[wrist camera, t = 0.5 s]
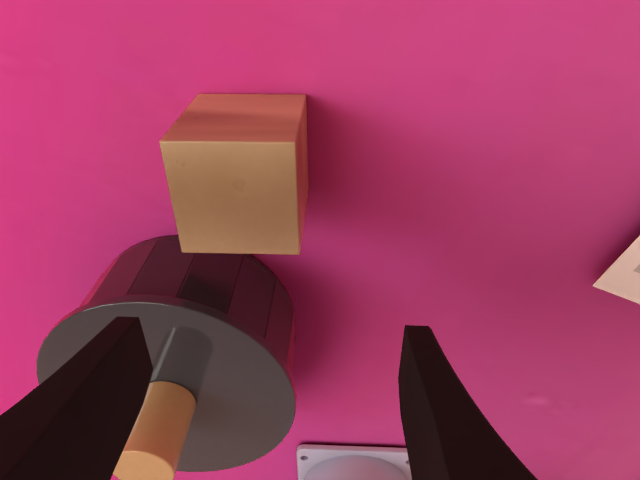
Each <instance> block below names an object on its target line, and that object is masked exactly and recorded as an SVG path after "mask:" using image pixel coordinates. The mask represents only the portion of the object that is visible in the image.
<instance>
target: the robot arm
mask: <svg viewBox="0 0 640 480" xmlns="http://www.w3.org/2000/svg"><path fill="white" fill-rule="evenodd" d="M152 372H153V366H152V362H151V358H150V355H149V351H148V348H147V344H146V340H145V337H144V333H143V330H142V326H141V322H140V319H139V317H123V316H117V317H116V318H115V319H114V320H112V321H111V322H110V323H109V324H108V325H107V326H106V327H105V328H104V329H102V330H101V331H100V332H99V333H98V334H97V335H96V336H95V337H94V338H93V339H91V340H90V341H89V342H88V343H87V344H86V345H85V346H84V347H83V348H82V349H80V350H79V351H78V352H77V353H76V354H75V355H74V356H73V357H72V358H70V359H69V360H68V361H67V362H66V363H65V364H64V365H62V366H61V367H60V368H59V369H58V370H57V371H56V372H55V373H53V374H52V375H51V376H50V377H49V378H47V379H46V380H45V381H44V382H42V383H41V384H40V385H39V386H37V387H36V388H35V389H34V390H33V391H31V392H30V393H29V394H28V395H26V396H25V397H24V398H23V399H22V400H20V401H19V402H18V403H16V404H15V405H14V406H13V407H11V408H10V409H9V410H7V411H6V412H4V413H3V414H2V415H0V480H110V479H111V477H112V474H113V472H114V470H115V467H116V465H117V463H118V461H119V458H120V456H121V454H122V452H123V449H124V447H125V445H126V443H127V440H128V438H129V436H130V434H131V431H132V429H133V427H134V424H135V422H136V420H137V417H138V415H139V413H140V410H141V408H142V406H143V403H144V400H145V396H146V393H147V390H148V387H149V383H150V379H151V376H152ZM398 381H399V398H400V412H401V419H402V425H403V431H404V436H405V442H406V448H393V447H366V446H339V445H311V444H302V445H299V446H298V447H297V468H298V480H537V479H536V478H535V476H534V475H533V474H532V473H531V472H530V471H529V470H528V469H527V468H526V467H525V465H524V464H523V463H522V462H521V461H520V460H519V459H518V458H517V456H516V455H515V454H514V453H513V452H512V451H511V449H510V448H509V447H508V446H507V445H506V443H505V442H504V441H503V440H502V439H501V437H500V436H499V435H498V434H497V432H496V431H495V430H494V428H493V427H492V426H491V425H490V423H489V422H488V421H487V419H486V418H485V416H484V415H483V414H482V412H481V411H480V410H479V408H478V407H477V405H476V404H475V402H474V401H473V400H472V398H471V397H470V395H469V394H468V392H467V391H466V389H465V387H464V386H463V384H462V383H461V381H460V380H459V378H458V377H457V375H456V373H455V372H454V370H453V368H452V367H451V365H450V363H449V362H448V360H447V358H446V356H445V355H444V353H443V351H442V349H441V347H440V345H439V343H438V342H437V340H436V338H435V336H434V333H433V331H432V329H431V328H430V327H429V326H410V325H405V329H404V337H403V345H402V353H401V361H400V368H399V376H398Z"/></svg>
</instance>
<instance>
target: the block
mask: <svg viewBox="0 0 640 480" xmlns="http://www.w3.org/2000/svg"><path fill="white" fill-rule="evenodd" d="M159 143H160V148H161V153H162V157H163V162H164V167H165V172H166V177H167V182H168V187H169V192H170V197H171V202H172V206H173V211H174V216H175V221H176V226H177V231H178V236H179V241H180V246H181V251H182V252H183V253H232V254H283V255H299V254H300V250H301V242H302V235H303V228H304V221H305V214H306V206H307V199H308V192H309V182H308V142H307V101H306V95H305V94H198V95H197V96H196V97H195V99H194V100H193V101H192V102H191V103H190V105H189V106H188V107H187V108H186V109H185V111H184V112H183V113H182V114H181V116H180V117H179V118H178V119H177V120H176V122H175V123H174V124H173V125H172V126H171V128H170V129H169V130H168V131H167V132H166V134H165V135H164V136H163V137H162V139H161V140H160V141H159Z"/></svg>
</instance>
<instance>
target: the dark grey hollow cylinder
mask: <svg viewBox="0 0 640 480" xmlns="http://www.w3.org/2000/svg"><path fill="white" fill-rule="evenodd" d="M141 294H146V295H160V296H168V297H174V298H179V299H184V300H188V301H192V302H196V303H199V304H203V305H205V306H208V307H211V308H213V309H216V310H219V311H221V312H223V313H225V314H227V315H229V316H231V317H233V318H235V319H237V320H239V321H240V322H242V323H243V324H245V325H247V326H248V327H250V328H251V329H253V330H254V331H255V332H257V333H258V334H259V335H260V336H262V337H263V338H264V339H265V340H266V341H267V342H268V343H269V344H270V345H271V346H272V347H273V348H274V349H275V350H276V351H277V352H278V354H279V355H280V356H281V358H282V359H283V360H284V362H285V364H286V365H287V367H288V369H289V371H290V373H291V369H292V361H293V353H294V345H295V314H294V308H293V305H292V302H291V299H290V297H289V295H288V293H287V291H286V289H285V288H284V286H283V285H282V283H281V282H280V280H279V279H278V278H277V277H276V276H275V275H274V274H273V273H272V272H271V271H270V270H269V269H268V268H267V267H266V266H265V265H264V264H262V263H261V262H260V261H258V260H257V259H255V258H254V257H252V256H251V255H249V254H232V253H183V252H182V251H181V246H180V241H179V236H165V237H158V238H154V239H150V240H147V241H143V242H141V243H139V244H136V245H134V246H132V247H130V248H129V249H127V250H126V251H124V252H122V253H121V254H120V255H119V256H118V257H117V258H116V259H115V260H114V261H113V262H112V263H111V265H110V266H109V267H108V268H107V269H106V271H105V272H104V273H103V274H102V275H101V276H100V277H99V279H98V280H97V282H96V283H95V285H94V286H93V288H92V289H91V291H90V292H89V294H88V295H87V297H86V298H85V300H84V301H83V302H82V304H81V305H80V307H81V306H83V305H86V304H88V303H91V302H93V301H97V300H101V299H104V298H108V297H115V296H122V295H141Z"/></svg>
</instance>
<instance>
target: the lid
mask: <svg viewBox="0 0 640 480" xmlns="http://www.w3.org/2000/svg"><path fill="white" fill-rule="evenodd" d="M117 316H123V317H139V319H140V322H141V326H142V330H143V333H144V337H145V340H146V344H147V348H148V351H149V355H150V358H151V362H152V366H153V372H152V376H151V379H150V383H149V387H148V390H147V393H146V396H145V400H144V403H143V406H142V408H141V410H140V413H139V415H138V417H137V420H136V422H135V424H134V427H133V429H132V431H131V434H130V436H129V438H128V440H127V443H126V445H125V447H124V449H123V452H122V454H121V456H120V458H119V461H118V463H117V465H116V467H115V470H114V472H113V475H114V476H116V477H117V478H118V479H120V480H173V479H174V477H175V473H176V471H186V472H206V471H217V470H224V469H230V468H234V467H237V466H241V465H244V464H247V463H250V462H252V461H255V460H257V459H259V458H260V457H262V456H264V455H266V454H267V453H269V452H270V451H272V450H273V449H274V448H275V447H276V446H277V445H278V444H280V443H281V442H282V440H283V439H284V438H285V436H286V435H287V434H288V432H289V430H290V428H291V426H292V424H293V420H294V416H295V411H296V389H295V384H294V381H293V378H292V375H291V373H290V371H289V369H288V367H287V365H286V364H285V362H284V360H283V359H282V358H281V356H280V355H279V354H278V352H277V351H276V350H275V349H274V348H273V347H272V346H271V345H270V344H269V343H268V342H267V341H266V340H265V339H264V338H263V337H262V336H260V335H259V334H258V333H257V332H255V331H254V330H253V329H251V328H250V327H248V326H247V325H245V324H243V323H242V322H240V321H239V320H237V319H235V318H233V317H231V316H229V315H227V314H225V313H223V312H221V311H219V310H216V309H213V308H211V307H208V306H205V305H203V304H199V303H196V302H192V301H188V300H184V299H179V298H174V297H168V296H160V295H146V294H141V295H122V296H115V297H108V298H104V299H101V300H97V301H93V302H91V303H88V304H86V305H83V306H81V307H79V308H77V309H75V310H74V311H72V312H70V313H69V314H67V315H65V316H64V317H63V318H62V319H61V320H60V321H59V322H57V323H56V324H55V326H54V327H53V328H52V330H51V331H50V332H49V334H48V335H47V336H46V338H45V339H44V341H43V343H42V345H41V347H40V350H39V353H38V358H37V377H38V382H39V385H40V384H41V383H42V382H44V381H45V380H46V379H47V378H49V377H50V376H51V375H52V374H53V373H55V372H56V371H57V370H58V369H59V368H60V367H61V366H62V365H64V364H65V363H66V362H67V361H68V360H69V359H70V358H72V357H73V356H74V355H75V354H76V353H77V352H78V351H79V350H80V349H82V348H83V347H84V346H85V345H86V344H87V343H88V342H89V341H90V340H91V339H93V338H94V337H95V336H96V335H97V334H98V333H99V332H100V331H101V330H102V329H104V328H105V327H106V326H107V325H108V324H109V323H110V322H111V321H112V320H114V319H115V318H116V317H117Z"/></svg>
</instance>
